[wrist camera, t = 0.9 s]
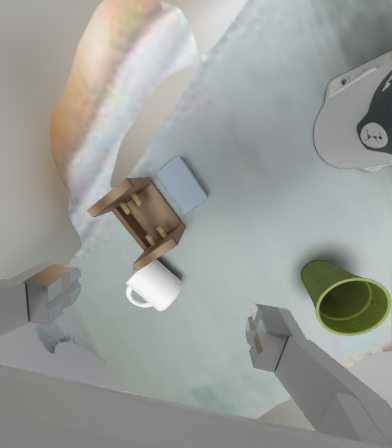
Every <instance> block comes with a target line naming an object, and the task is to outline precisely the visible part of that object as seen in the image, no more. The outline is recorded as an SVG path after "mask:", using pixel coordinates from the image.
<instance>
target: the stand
mask: <svg viewBox="0 0 392 448" xmlns="http://www.w3.org/2000/svg"><path fill="white" fill-rule="evenodd" d="M87 211H88V212H89V213H90V215H91V216H92V217H96V216H99V215H102V214H104V213H107V212H110V211H112V212H113V213H114V214H115V215H116V217H117V218H118V219H119V220H120V222H121V223H122V224H123V225H124V227H125V228H126V229H127V230H128V232H129V233H130V234H131V235H132V236H133V238H134V239H135V240H136V241H137V243H138V244H139V245H140V246H141V248H142V249H143V250H144V252H143V253H142V255H141V256H140V257H139V258H138V259H137V260H136V261H135V263H134V264H133V266H134V267H135V268H136V269H137V271H139V270H140V269H142V268H143V267H145V266H146V265H148V264H149V263H151V262H153V261H154V260H156V259H157V258H159V257H160V256H162V255H163V254H165V253H166V252H168V251H169V250H171V249H172V248H174V247H175V246H177V245H178V243H179V241H180V239H181V236H182V234H183V232H184V230H185V228H186V227H185V225H184V224H183V223H182V221H181V220H180V219H179V217H178V216H177V215H176V213H175V212H174V211H173V209H172V208H171V207H170V205H169V204H168V202H167V201H166V200H165V198H164V197H163V196H162V194H161V193H160V192H159V190H158V189H157V188H156V186H155V185H154V184H153V182H152V181H151V179H150V178H126V179H125V180H124V181H122V182H121V183H120V184H119V185H118V186H116V187H115V188H114V189H113V190H111V191H110V192H109V193H108V194H107V195H105V196H104V197H103V198H102V199H100V200H99V201H98V202H97V203H95V204H94V205H93V206H92V207H91V208H89V209H88V210H87Z"/></svg>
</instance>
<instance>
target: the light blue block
mask: <svg viewBox="0 0 392 448" xmlns="http://www.w3.org/2000/svg"><path fill="white" fill-rule="evenodd" d="M155 174H156V175H157V177H158V178H159V180H160V181H161V182H162V184H163V185H164V186H165V188H166V189H167V191H168V192H169V193H170V195H171V196H172V198H173V199H174V200H175V202H176V203H177V204H178V206H179V207H180V209H181V210H182V211H183V213H184V214H186V213H187V212H189V211H190V210H192V209H193V208H195V207H196V206H198V205H199V204H201V203H202V202H203V201H205V200H206V199H208V195H207V193H206V192H205V190H204V189H203V187H202V186H201V184H200V183H199V182H198V180H197V179H196V177H195V176H194V174H193V173H192V171H191V170H190V168H189V167H188V165H187V164H186V162H185V161H184V160H183V158H182V157H180V156H177V157H176V158H174V159H173V160H172V161H171V162H169V163H168V164H167V165H165V166H164V167H163V168H162V169H160V170H159V171H158V172H157V173H155Z"/></svg>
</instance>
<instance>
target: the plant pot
mask: <svg viewBox="0 0 392 448" xmlns="http://www.w3.org/2000/svg"><path fill="white" fill-rule="evenodd" d="M302 281H303V283H304V285H305V287H306V289H307V291H308V293H309V295H310V297H311V299H312V301H313V303H314V307H315V309H316V316H317V319H318V321H319V323H320V324H321V325H322V326H323V327H324V328H325V329H327V330H328V331H330V332H332V333H334V334H338V335H343V336H355V335H360V334H363V333H367V332H369V331H371V330H373V329H375V328H376V327H378V326H379V325H380V324H381V323H382V322H384V320H385V319H386V318H387V316H388V314H389V312H390V309H391V297H390V294H389V292H388V290H387V289H386V288H385V287H384V286H383V285H382V284H380V283H378V282H376V281H374V280H371V279H367V278H361V277H359V276H356V275H353V274H351V273H349V272H347V271H345V270H343V269H341V268H338V267H336V266H334V265H332V264H330V263H328V262H326V261H313V262H311V263H309V264H307V265H306V266H305V267H304V269H303V270H302Z"/></svg>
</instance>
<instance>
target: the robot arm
mask: <svg viewBox="0 0 392 448" xmlns="http://www.w3.org/2000/svg"><path fill="white" fill-rule="evenodd" d="M342 81H343V82H344V85H342V83H341V82H342ZM314 143H315V147H316V149H317V152H318V153H319V155H320V156H321V158H322V159H323V160H324V161H325V162H327V163H328V164H330V165H332V166H334V167H337V168H343V169H352V168H356V169H360V170H362V171H365V172H368V173H373V172H378V171H380V170H381V169H382V168H383V167H385V166H388V165H392V50H391V51H389V52H387V53H385V54H383V55H381V56H379V57H377V58H375V59H373V60H371V61H369V62H367V63H365V64H363V65H361V66H359V67H357V68H355V69H353V70H351V71H349V72H347V73H345V74H343V75H341V76H339V77H337V78H335V79H334V80H332V81H331V82H330V83H329V84H328V86H327V89H326V95H325V102H324V105H323V107H322V109H321V111H320V113H319V115H318V117H317V120H316V123H315V128H314ZM80 277H81V270H80V269H79V268H76V267H71V266H66V265H62V264H57V263H53V262H42V263H40V264H38V265H36V266H34V267H32V268H30V269H28V270H26V271H25V272H23V273H21V274H19V275H17V276H15V277H13V278H11V279H2V280H0V337H1V336H3V335H5V334H7V333H9V332H11V331H13V330H15V329H17V328H19V327H21V326H24V325H26V324H28V322H32V323H38V324H43V325H49V326H50V325H51V324H52V323H53V322H54V321H55V320H56V319H57V318H58V317H59V316H60V315H62V314H63V309H64V308H67V307H69V306H71V305H72V304H73V303H74V302H75V301H76V300H77V298H78V296H79V294H80V290H81V285H80V283H79V282H78V279H79V278H80ZM250 311H251V314H252V316H251V317H249V318H248V320H247V323H246V338H247V342H248V343H249V344H250V346H251V348H250V351H249V352H250V356H251V360H252V364H253V368H257V369H262V370H266V371H270V372H274V373H275V375H276V376H277V378H278V379H279V381H280V382H281V383H282V385H283V386H284V387H285V389H286V390H287V392H288V393H289V394H290V396H291V397H292V398H293V400H294V401H295V402H296V404H297V405H298V406H299V408H300V409H301V411H302V412H303V413H304V415H305V416H306V418H307V419H308V420H309V422H310V423H311V424H312V426H313V427H314V429H315V430H316V432H315V431H310V430H306V429H301V428H296V427H291V426H287V425H282V424H277V423H273V422H267V421H263V420H258V419H254V418H249V417H244V416H240V415H235V414H230V413H225V412H221V411H216V410H211V409H206V408H202V407H197V406H192V405H187V404H183V403H178V402H173V401H168V400H164V399H159V398H154V397H149V396H145V395H140V394H135V393H130V392H125V391H121V390H116V389H112V388H107V387H102V386H98V385H92V384H88V383H83V382H79V381H74V380H69V379H64V378H60V377H55V376H50V375H46V374H41V373H36V372H31V371H26V370H22V369H17V368H12V367H8V366H3V365H0V448H392V408H391V407H390V406H389V404H388V403H387V402H386V401H385V400H384V399H383V398H381V397H380V396H379V395H378V394H376V393H375V392H374V391H373V390H372V389H370V388H369V387H368V386H366V385H365V384H364V383H363V382H361V381H360V380H359V379H358V378H357V377H355V376H354V375H353V374H352V373H350V372H349V371H348V370H347V369H346V368H344V367H343V366H342V365H341V364H339V363H338V362H337V361H336V360H334V359H333V358H332V357H331V356H329V355H328V354H327V353H326V352H324V351H323V350H322V349H321V348H320V347H318V346H317V345H316V344H315V343H313V342H312V341H311V340H307V339H306V337H305V336H304V334H303V332H302V331H301V329H300V327H299V326H298V324H297V322H296V321H295V319H294V318H293V316H292V314H291V313H290V311H289V310H288V309H285V308H279V307H272V306H266V305H261V304H255V303H253V305H252V307H251V310H250Z"/></svg>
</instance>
